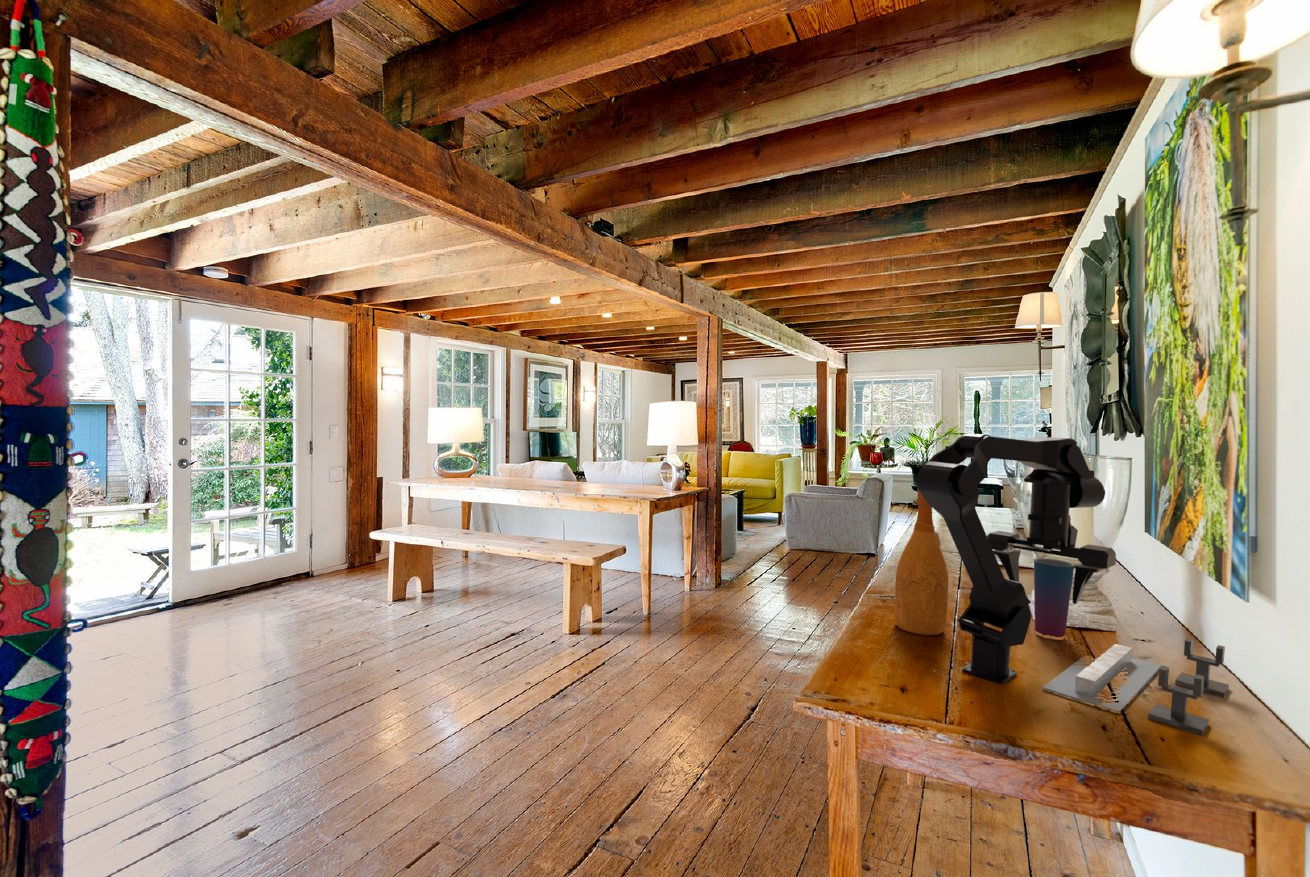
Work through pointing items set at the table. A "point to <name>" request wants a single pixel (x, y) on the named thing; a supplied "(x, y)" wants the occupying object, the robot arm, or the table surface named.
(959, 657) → the table surface
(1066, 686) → the mat
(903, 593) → the wine bottle
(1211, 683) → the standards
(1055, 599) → the cup
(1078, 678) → the rail
